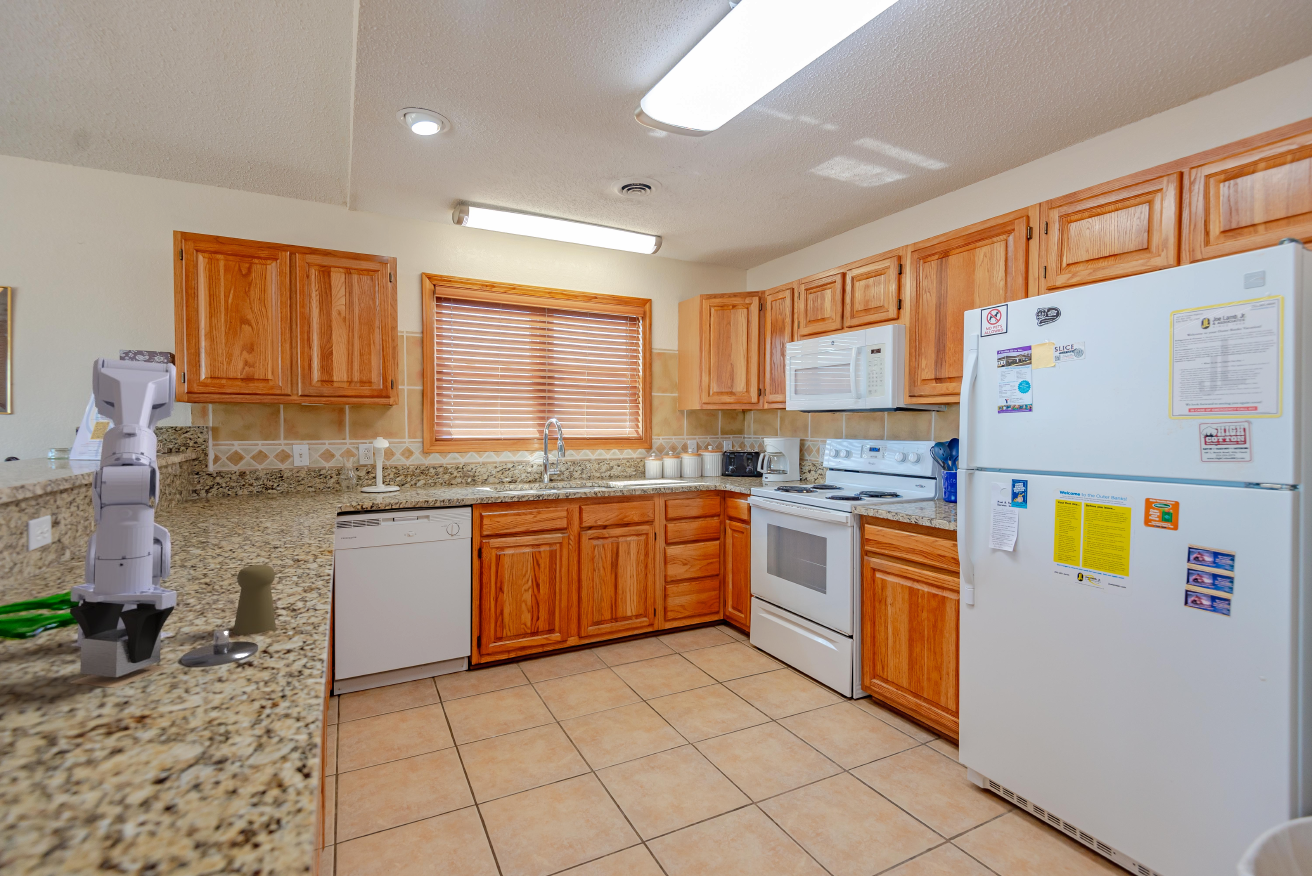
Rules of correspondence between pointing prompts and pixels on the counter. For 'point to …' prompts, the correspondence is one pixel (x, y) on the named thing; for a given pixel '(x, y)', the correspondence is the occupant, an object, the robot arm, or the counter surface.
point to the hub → (219, 651)
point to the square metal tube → (112, 654)
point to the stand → (118, 681)
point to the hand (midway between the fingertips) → (121, 658)
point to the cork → (255, 601)
